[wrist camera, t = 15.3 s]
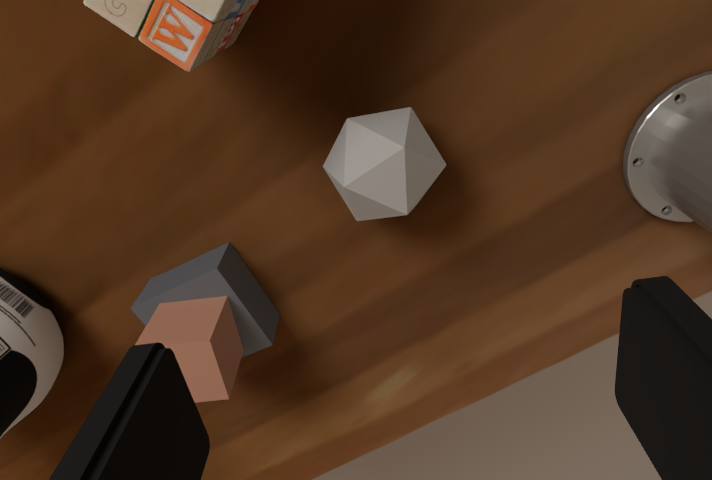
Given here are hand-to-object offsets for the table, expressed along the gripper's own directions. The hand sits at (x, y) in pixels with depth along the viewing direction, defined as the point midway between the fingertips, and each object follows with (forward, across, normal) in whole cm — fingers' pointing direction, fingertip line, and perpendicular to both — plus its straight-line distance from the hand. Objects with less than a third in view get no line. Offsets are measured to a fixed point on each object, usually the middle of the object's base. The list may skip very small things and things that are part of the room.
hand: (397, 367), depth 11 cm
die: (+34, 0, +6) cm, 34 cm away
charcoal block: (+34, +18, +18) cm, 42 cm away
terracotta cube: (+29, +18, +18) cm, 38 cm away
